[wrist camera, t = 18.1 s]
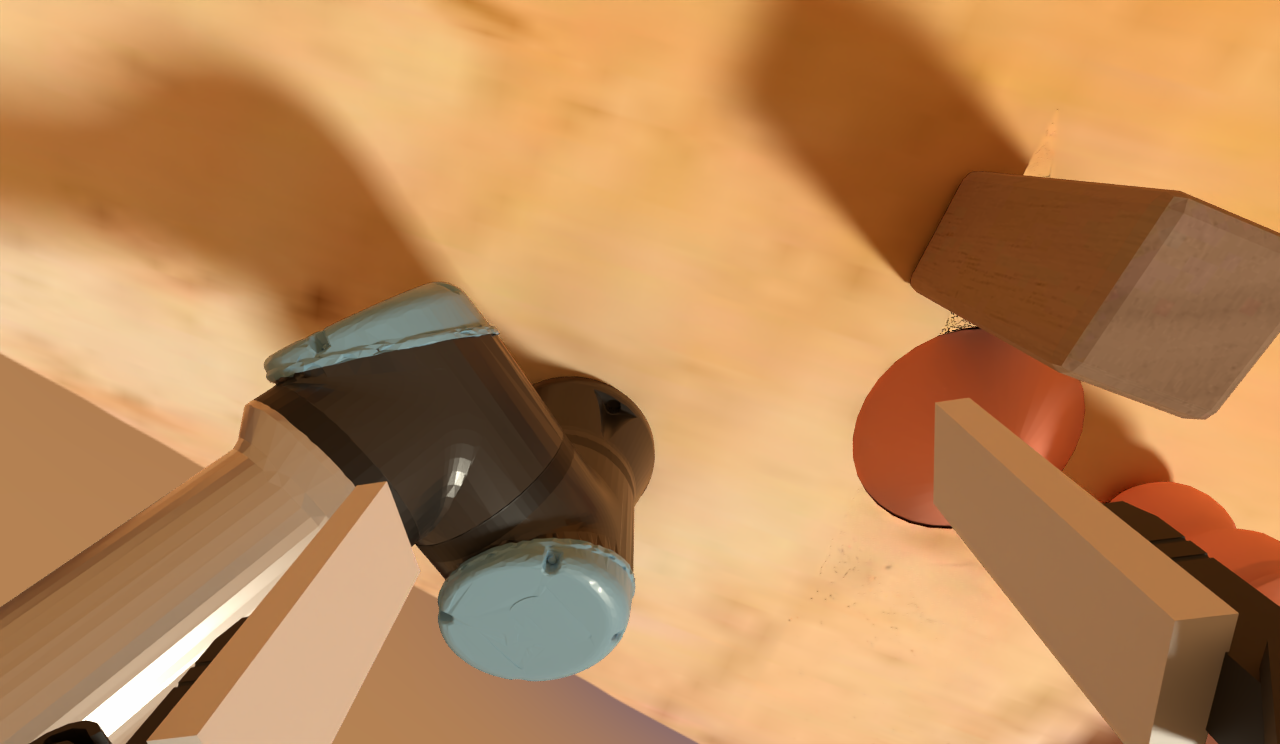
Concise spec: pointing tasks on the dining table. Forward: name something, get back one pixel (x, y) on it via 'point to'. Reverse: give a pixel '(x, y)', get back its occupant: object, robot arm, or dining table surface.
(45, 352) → the dining table surface
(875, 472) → the ceramic vessels
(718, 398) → the dining table surface
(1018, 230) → the block
